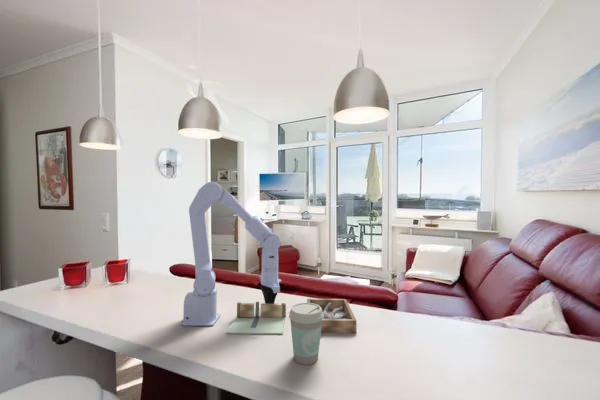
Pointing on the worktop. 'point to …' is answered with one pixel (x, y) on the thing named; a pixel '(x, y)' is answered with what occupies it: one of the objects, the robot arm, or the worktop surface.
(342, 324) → the box
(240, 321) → the mat
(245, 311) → the fixed rail
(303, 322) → the coffee cup
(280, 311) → the rail
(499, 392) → the worktop surface
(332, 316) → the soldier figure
